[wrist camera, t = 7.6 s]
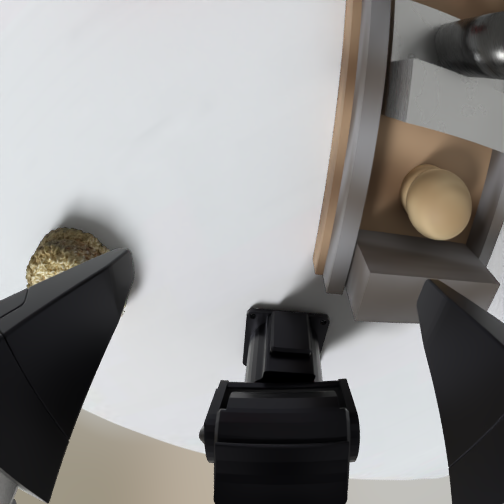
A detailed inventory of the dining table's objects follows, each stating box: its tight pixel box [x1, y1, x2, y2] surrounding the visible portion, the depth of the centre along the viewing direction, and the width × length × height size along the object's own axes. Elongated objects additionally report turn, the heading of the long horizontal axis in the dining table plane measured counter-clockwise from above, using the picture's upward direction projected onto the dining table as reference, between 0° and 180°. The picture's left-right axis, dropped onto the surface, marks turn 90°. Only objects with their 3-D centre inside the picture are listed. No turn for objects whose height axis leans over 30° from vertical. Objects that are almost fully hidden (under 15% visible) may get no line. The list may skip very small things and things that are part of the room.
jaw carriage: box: [381, 0, 504, 153], centre depth 10 cm, size 7×8×7 cm
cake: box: [26, 227, 126, 316], centre depth 23 cm, size 10×10×5 cm
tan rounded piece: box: [399, 164, 472, 240], centre depth 16 cm, size 4×4×4 cm
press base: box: [313, 0, 504, 323], centre depth 13 cm, size 24×12×7 cm, turn 176°
